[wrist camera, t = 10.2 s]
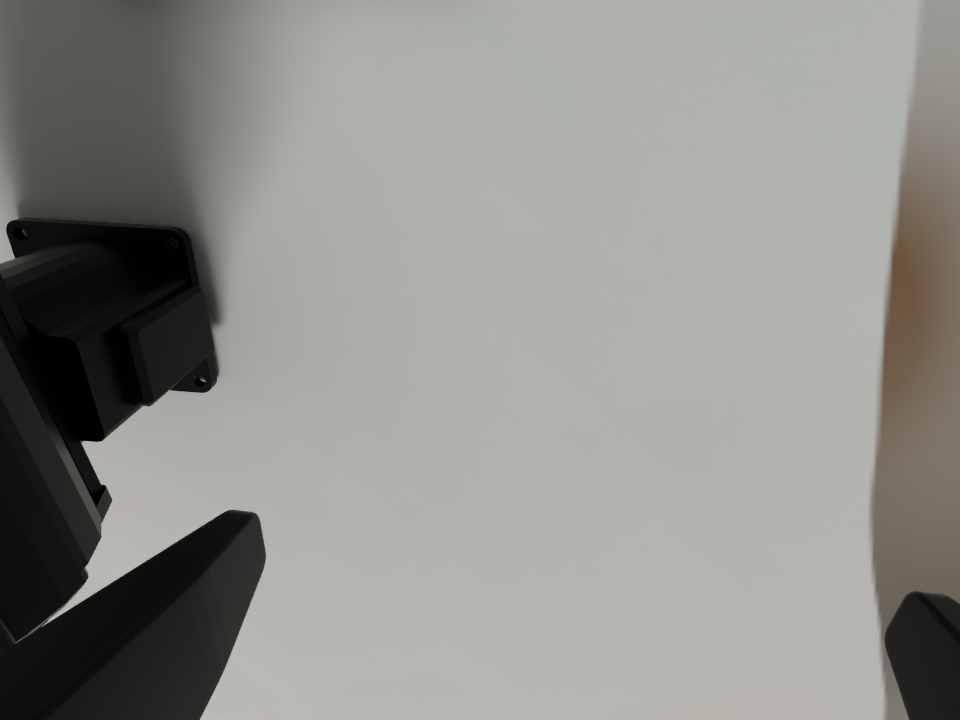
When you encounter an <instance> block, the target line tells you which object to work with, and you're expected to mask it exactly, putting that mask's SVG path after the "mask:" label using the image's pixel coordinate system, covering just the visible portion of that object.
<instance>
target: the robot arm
mask: <svg viewBox="0 0 960 720" xmlns="http://www.w3.org/2000/svg"><path fill="white" fill-rule="evenodd" d="M22 229H23V230H25V231H26V233H27V236H28V237H26V236H25V235H24V233H23V232H22ZM6 231H7V235H8V238H9V241H10V244H11V247H12V250H13V253H14V256H15V259H13V260H10V261H7V262H4V263H1V264H0V720H200V718H201V716H202V714H203V712H204V710H205V708H206V706H207V704H208V702H209V700H210V698H211V696H212V694H213V692H214V690H215V688H216V686H217V684H218V682H219V680H220V678H221V676H222V674H223V671H224V669H225V667H226V664H227V662H228V659H229V657H230V655H231V652H232V649H233V647H234V644H235V642H236V639H237V636H238V634H239V631H240V629H241V626H242V624H243V621H244V618H245V616H246V613H247V611H248V608H249V605H250V603H251V600H252V598H253V595H254V592H255V590H256V587H257V585H258V582H259V580H260V577H261V574H262V572H263V569H264V565H265V560H266V552H265V546H264V540H263V535H262V529H261V524H260V519H259V517H258V515H257V514H256V513H253V512H247V511H239V510H229V511H226V512H224V513H222V514H221V515H219V516H217V517H216V518H214V519H213V520H211V521H209V522H208V523H206V524H205V525H203V526H201V527H200V528H198V529H197V530H195V531H194V532H192V533H190V534H189V535H187V536H186V537H184V538H182V539H181V540H179V541H178V542H176V543H174V544H173V545H171V546H170V547H168V548H167V549H165V550H163V551H162V552H160V553H159V554H157V555H155V556H154V557H152V558H151V559H149V560H147V561H146V562H144V563H143V564H141V565H140V566H138V567H136V568H135V569H133V570H132V571H130V572H128V573H127V574H125V575H124V576H122V577H120V578H119V579H117V580H116V581H114V582H112V583H111V584H109V585H108V586H106V587H105V588H103V589H101V590H100V591H98V592H97V593H95V594H93V595H92V596H90V597H89V598H87V599H85V600H84V601H82V602H81V603H79V604H78V605H76V606H74V607H73V608H71V609H70V610H68V611H66V612H65V613H63V614H62V615H60V616H58V617H57V618H55V619H54V620H52V621H51V622H49V623H47V624H46V625H44V624H45V623H46V622H47V621H48V620H49V619H50V618H51V617H52V616H54V615H55V614H56V613H57V612H59V611H60V610H61V609H62V608H63V607H64V606H65V605H66V604H67V603H68V602H69V601H70V600H71V599H72V598H73V597H74V595H75V594H76V593H77V592H78V591H79V590H80V589H81V588H82V586H83V585H84V584H85V582H86V581H87V579H88V572H87V571H86V569H85V566H86V565H87V564H88V562H89V560H90V558H91V557H92V555H93V553H94V551H95V549H96V547H97V545H98V543H99V541H100V539H101V523H102V521H103V519H104V517H105V515H106V513H107V511H108V508H109V506H110V504H111V502H112V498H111V496H110V494H109V492H108V489H107V487H106V486H105V485H101V484H100V482H99V479H98V477H97V475H96V473H95V471H94V469H93V467H92V465H91V463H90V461H89V458H88V456H87V454H86V452H85V450H84V448H83V446H82V444H81V443H82V442H83V441H94V442H99V441H103V440H104V439H105V438H106V437H107V436H108V435H110V434H111V433H112V432H113V431H114V430H115V429H117V428H118V427H119V426H120V425H121V424H122V423H124V422H125V421H126V420H127V419H128V418H129V417H131V416H132V415H133V414H134V413H135V412H136V411H138V410H139V409H140V408H141V407H142V406H151V405H153V404H154V403H155V402H156V401H157V400H158V399H160V398H161V397H162V396H163V395H164V394H165V393H166V392H168V391H169V390H173V391H186V392H200V393H203V392H207V391H209V390H210V389H211V388H212V387H213V386H215V384H216V382H217V376H216V370H215V365H214V360H213V355H212V352H213V350H214V345H213V340H212V335H211V329H210V324H209V319H208V313H207V308H206V303H205V297H204V292H203V290H202V289H201V287H200V286H199V281H198V276H197V271H196V266H195V260H194V255H193V250H192V245H191V240H190V238H189V236H188V234H187V233H186V232H185V231H184V230H182V229H181V228H178V227H172V226H155V225H138V224H121V223H104V222H88V221H71V220H54V219H37V218H20V219H17V220H13V221H10V222H9V223H8V224H7V227H6ZM170 237H173V238H174V239H175V240H177V243H178V248H177V247H175V246H174V245H172V243H171V241H170ZM198 376H201V377H203V378H204V379H205V381H206V382H202V381H201V380H200V379H199V377H198ZM43 625H44V626H43ZM42 626H43V627H42ZM40 627H41V628H40ZM885 647H886V651H887V654H888V657H889V660H890V663H891V666H892V669H893V672H894V676H895V678H896V682H897V684H898V688H899V691H900V694H901V696H902V700H903V703H904V706H905V709H906V712H907V715H908V718H909V720H960V604H959V603H957V602H956V601H955V600H953V599H951V598H950V597H948V596H946V595H943V594H937V593H928V592H919V591H912V592H910V593H908V594H907V595H906V596H905V597H904V599H903V600H902V602H901V604H900V606H899V607H898V609H897V611H896V613H895V615H894V616H893V618H892V620H891V622H890V623H889V625H888V627H887V629H886V632H885Z"/></svg>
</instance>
